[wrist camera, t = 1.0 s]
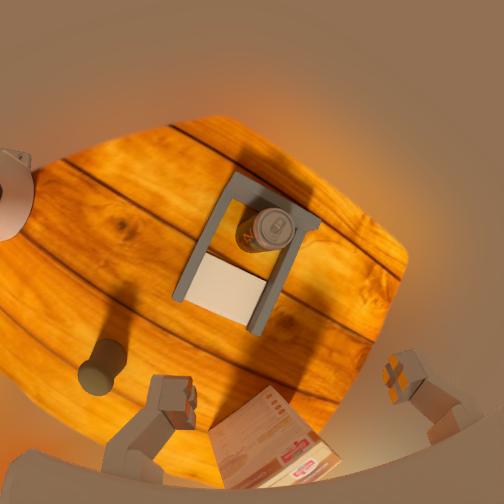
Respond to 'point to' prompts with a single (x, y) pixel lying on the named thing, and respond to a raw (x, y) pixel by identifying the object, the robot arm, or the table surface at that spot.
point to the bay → (234, 279)
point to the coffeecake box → (269, 446)
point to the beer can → (265, 231)
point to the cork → (102, 367)
